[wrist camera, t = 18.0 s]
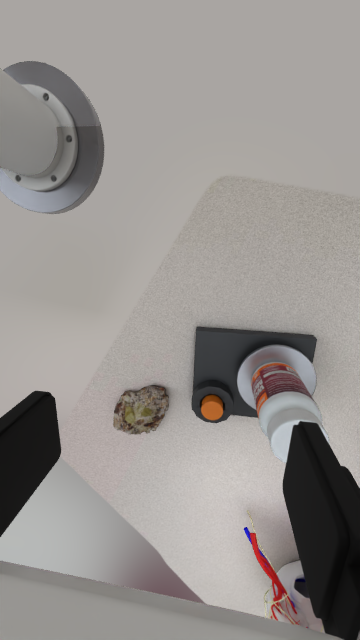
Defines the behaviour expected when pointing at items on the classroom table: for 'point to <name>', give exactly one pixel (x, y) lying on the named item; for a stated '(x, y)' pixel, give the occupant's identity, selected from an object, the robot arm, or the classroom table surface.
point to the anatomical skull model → (286, 591)
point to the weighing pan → (274, 355)
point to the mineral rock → (140, 410)
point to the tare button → (212, 407)
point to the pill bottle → (282, 404)
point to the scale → (233, 364)
